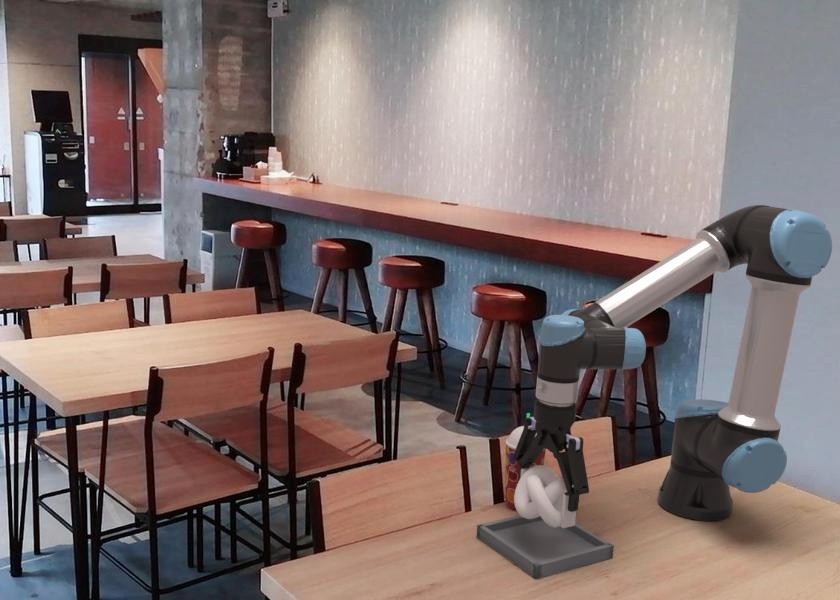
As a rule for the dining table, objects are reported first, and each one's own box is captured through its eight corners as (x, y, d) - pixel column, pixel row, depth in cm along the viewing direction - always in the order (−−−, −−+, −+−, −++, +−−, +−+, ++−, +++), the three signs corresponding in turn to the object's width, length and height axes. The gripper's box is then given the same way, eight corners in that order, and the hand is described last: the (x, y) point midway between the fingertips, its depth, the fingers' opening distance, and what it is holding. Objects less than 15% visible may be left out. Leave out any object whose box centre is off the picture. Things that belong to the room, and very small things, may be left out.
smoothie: (538, 498, 192) (545, 408, 188) (544, 515, 184) (552, 421, 180) (498, 497, 192) (505, 406, 188) (503, 513, 183) (510, 419, 180)
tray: (549, 520, 181) (550, 508, 181) (612, 558, 166) (613, 545, 166) (476, 537, 172) (477, 525, 172) (536, 579, 157) (537, 566, 157)
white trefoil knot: (561, 503, 175) (565, 459, 173) (590, 529, 164) (595, 483, 162) (507, 507, 171) (510, 462, 170) (533, 534, 160) (537, 487, 159)
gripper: (499, 385, 172) (491, 492, 176) (584, 423, 152) (573, 543, 156) (530, 381, 176) (521, 486, 180) (617, 417, 156) (605, 535, 160)
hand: (545, 513), depth 168 cm, fingers closed on white trefoil knot, 12 cm apart
